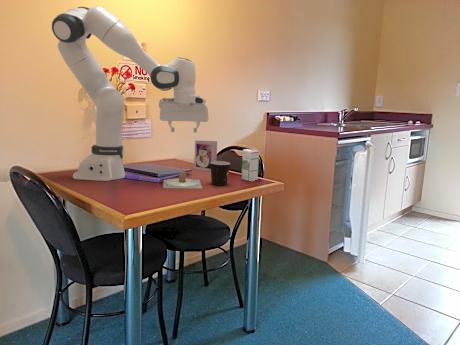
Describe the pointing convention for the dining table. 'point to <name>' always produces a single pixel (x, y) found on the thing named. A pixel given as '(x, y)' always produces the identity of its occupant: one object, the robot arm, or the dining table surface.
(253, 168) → the syrup box
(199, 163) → the greeting card
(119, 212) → the dining table surface
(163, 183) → the grey mat
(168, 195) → the dining table surface
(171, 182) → the sage lid
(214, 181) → the coffee mug
